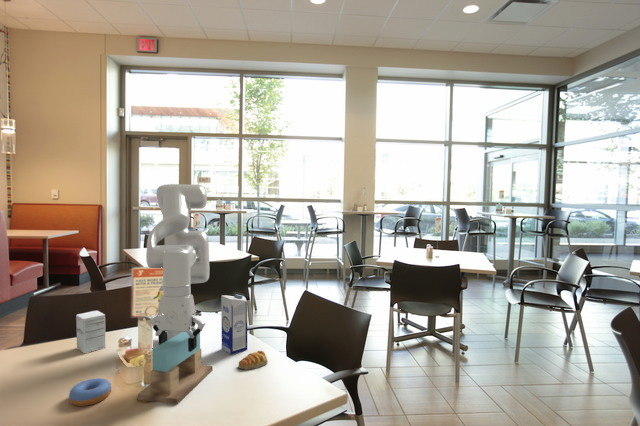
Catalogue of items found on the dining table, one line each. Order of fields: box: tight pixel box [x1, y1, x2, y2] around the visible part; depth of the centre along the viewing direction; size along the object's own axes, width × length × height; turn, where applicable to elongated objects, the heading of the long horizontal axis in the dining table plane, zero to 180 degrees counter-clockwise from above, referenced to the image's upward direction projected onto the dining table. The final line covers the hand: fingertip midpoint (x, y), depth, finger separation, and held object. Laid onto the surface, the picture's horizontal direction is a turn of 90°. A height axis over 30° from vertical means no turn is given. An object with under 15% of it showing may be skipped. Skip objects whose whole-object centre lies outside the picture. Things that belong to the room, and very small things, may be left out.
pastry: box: [238, 350, 269, 371], centre depth 125 cm, size 9×7×4 cm
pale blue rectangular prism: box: [151, 332, 201, 372], centre depth 112 cm, size 4×16×6 cm, turn 164°
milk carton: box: [220, 294, 248, 355], centre depth 137 cm, size 7×7×20 cm
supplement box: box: [75, 310, 107, 354], centre depth 137 cm, size 7×7×13 cm
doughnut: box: [68, 377, 112, 407], centre depth 104 cm, size 10×10×5 cm
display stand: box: [137, 347, 214, 405], centre depth 112 cm, size 12×20×8 cm, turn 169°
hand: (177, 348), depth 112 cm, fingers open, 9 cm apart
